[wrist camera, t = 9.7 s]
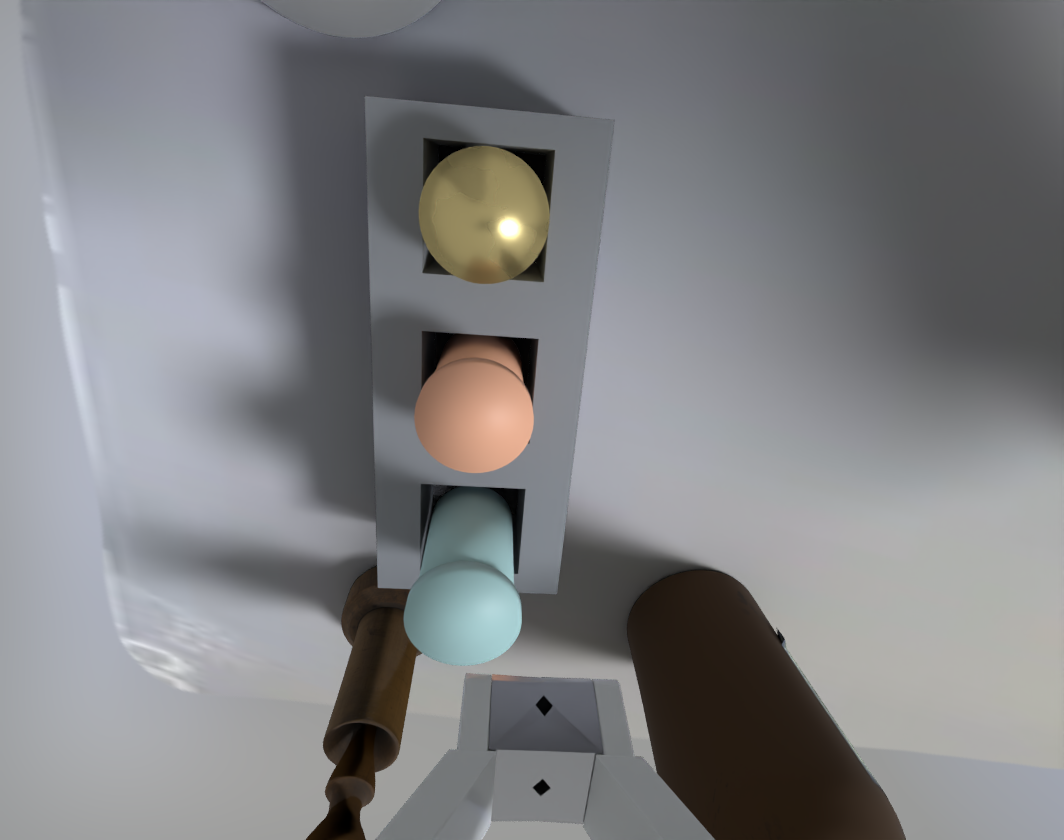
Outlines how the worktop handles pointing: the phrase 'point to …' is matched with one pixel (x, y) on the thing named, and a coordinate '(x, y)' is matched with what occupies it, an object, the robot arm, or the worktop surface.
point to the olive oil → (744, 721)
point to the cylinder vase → (353, 15)
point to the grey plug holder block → (478, 321)
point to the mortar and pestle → (367, 703)
